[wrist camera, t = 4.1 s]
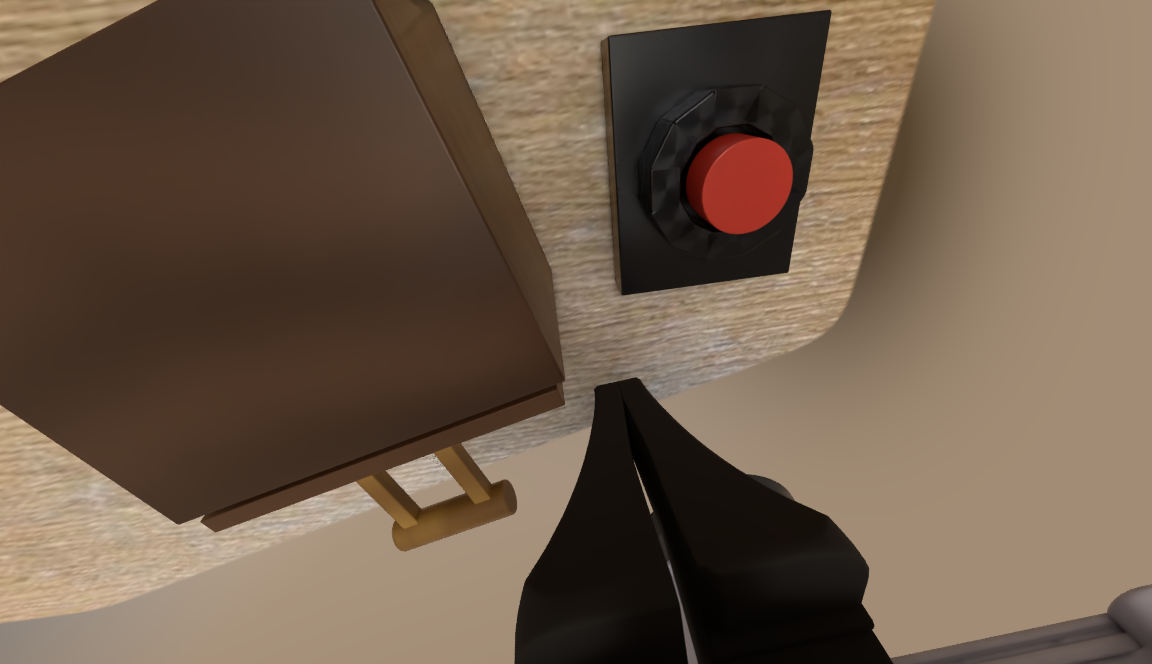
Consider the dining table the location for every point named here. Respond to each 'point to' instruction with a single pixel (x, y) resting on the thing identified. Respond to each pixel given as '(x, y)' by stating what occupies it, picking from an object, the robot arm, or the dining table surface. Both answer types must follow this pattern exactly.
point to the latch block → (704, 140)
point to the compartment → (259, 246)
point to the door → (410, 519)
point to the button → (739, 182)
